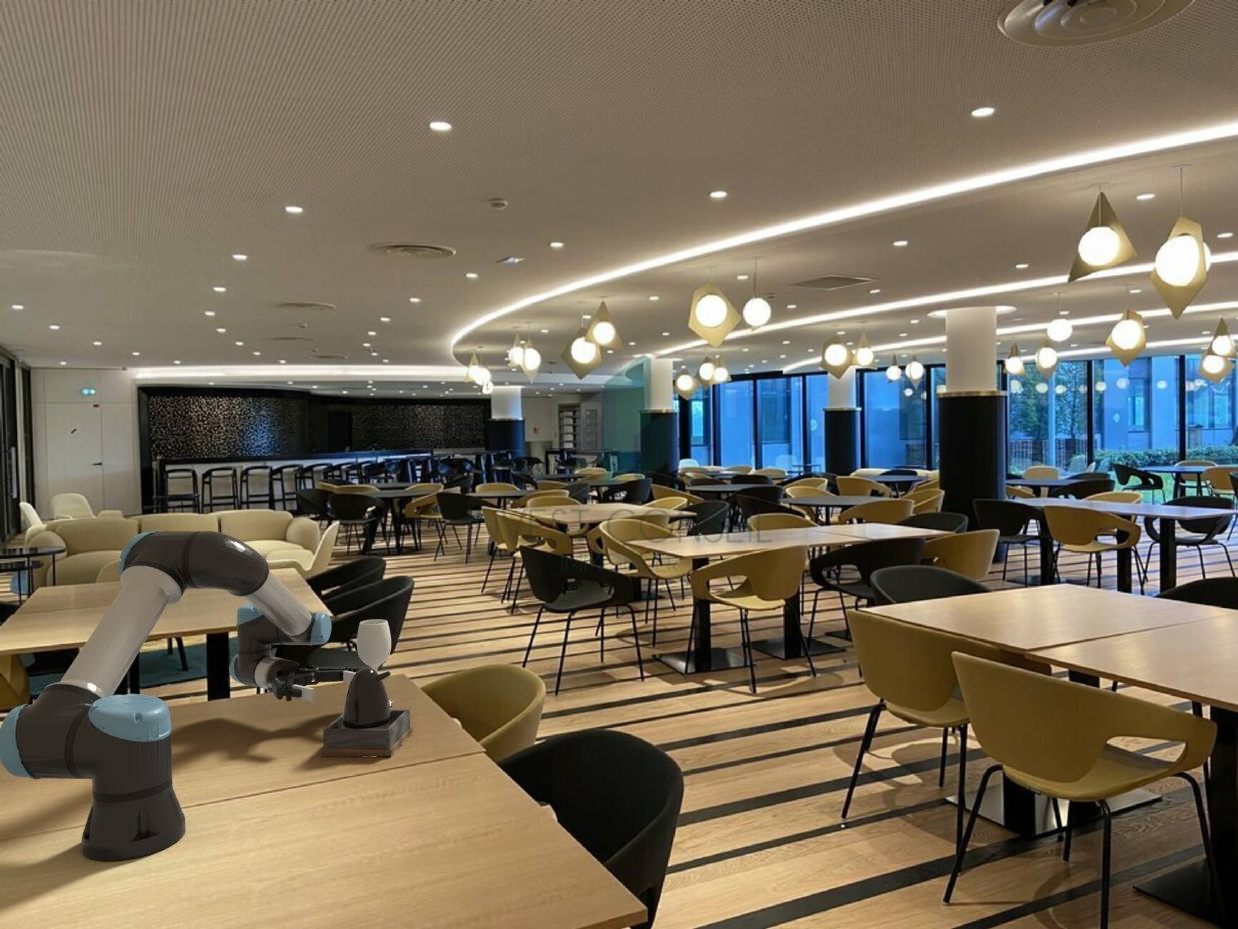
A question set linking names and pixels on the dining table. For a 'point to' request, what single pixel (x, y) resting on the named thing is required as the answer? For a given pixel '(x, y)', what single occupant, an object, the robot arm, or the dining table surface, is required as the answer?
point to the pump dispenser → (367, 701)
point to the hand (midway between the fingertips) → (339, 687)
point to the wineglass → (374, 642)
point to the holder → (367, 737)
